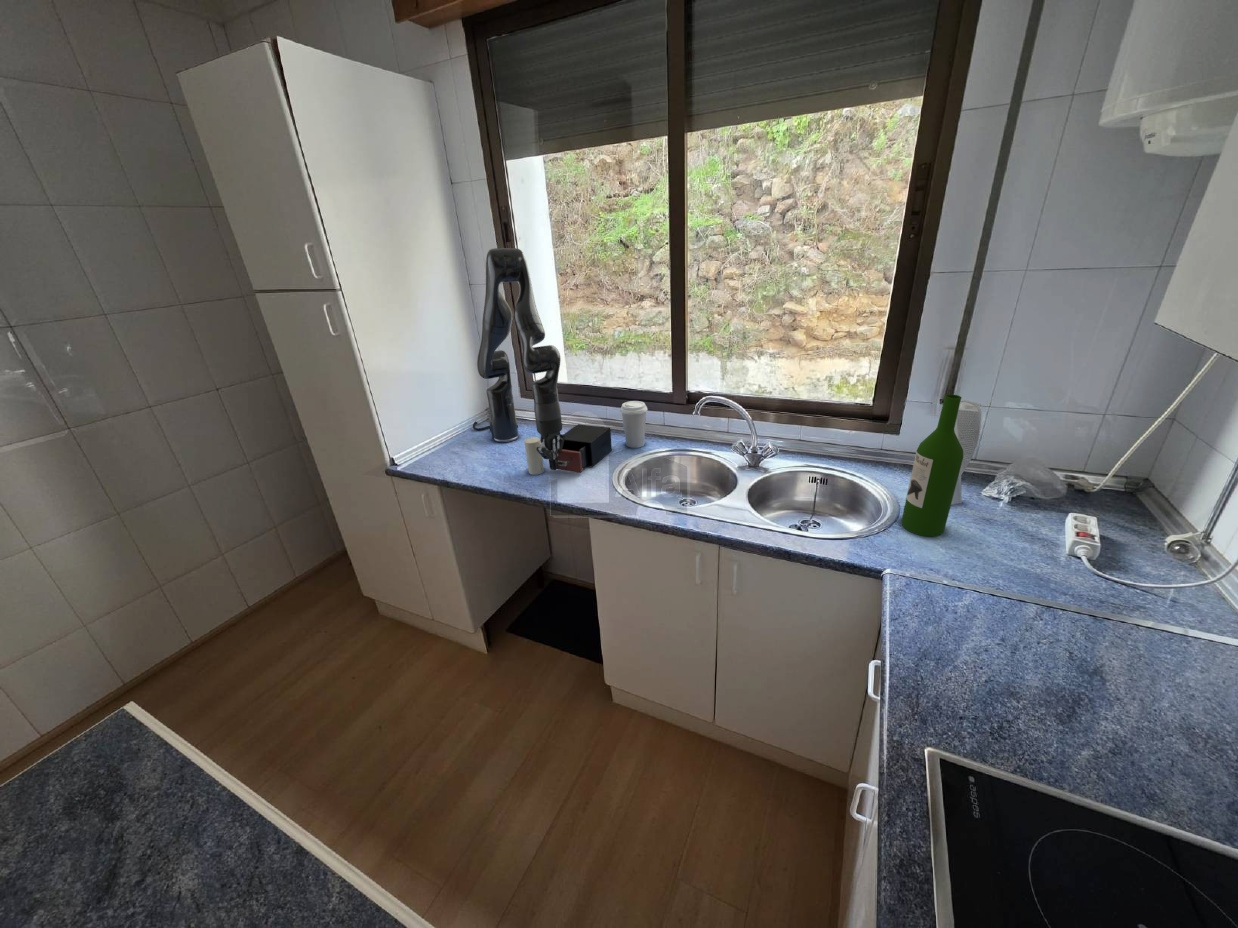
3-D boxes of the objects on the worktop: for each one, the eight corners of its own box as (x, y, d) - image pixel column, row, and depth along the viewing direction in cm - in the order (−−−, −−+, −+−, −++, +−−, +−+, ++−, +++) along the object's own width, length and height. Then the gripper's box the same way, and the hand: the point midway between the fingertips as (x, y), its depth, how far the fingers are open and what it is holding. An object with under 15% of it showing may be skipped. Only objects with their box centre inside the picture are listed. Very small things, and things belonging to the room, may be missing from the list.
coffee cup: (617, 442, 177) (615, 403, 171) (641, 437, 180) (639, 398, 174) (629, 451, 169) (627, 410, 163) (653, 445, 172) (652, 405, 166)
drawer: (574, 478, 149) (572, 458, 147) (543, 473, 154) (540, 453, 151) (600, 456, 164) (598, 437, 161) (570, 452, 169) (568, 434, 166)
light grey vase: (941, 509, 124) (968, 403, 112) (919, 496, 130) (942, 395, 119) (968, 504, 125) (997, 399, 114) (945, 491, 132) (970, 391, 120)
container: (525, 473, 157) (521, 442, 152) (534, 467, 161) (530, 436, 156) (538, 475, 155) (534, 443, 150) (547, 469, 159) (543, 438, 154)
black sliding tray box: (592, 467, 159) (590, 442, 155) (559, 462, 164) (556, 438, 160) (611, 450, 171) (610, 427, 167) (580, 446, 176) (578, 424, 172)
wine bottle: (892, 521, 120) (918, 393, 107) (922, 514, 122) (952, 388, 108) (921, 539, 112) (953, 404, 99) (953, 533, 114) (989, 399, 101)
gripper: (549, 407, 149) (555, 459, 156) (524, 421, 138) (532, 476, 145) (570, 409, 146) (575, 462, 153) (546, 424, 135) (553, 479, 142)
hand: (554, 469), depth 149 cm, fingers closed
